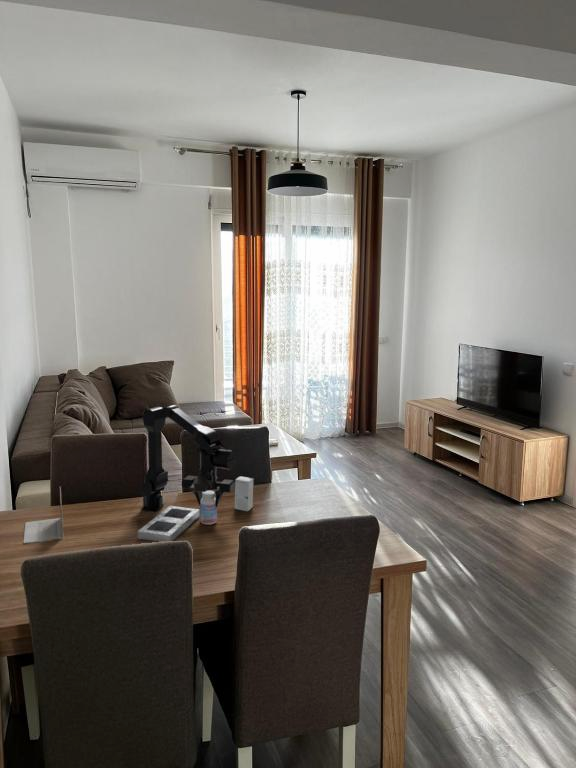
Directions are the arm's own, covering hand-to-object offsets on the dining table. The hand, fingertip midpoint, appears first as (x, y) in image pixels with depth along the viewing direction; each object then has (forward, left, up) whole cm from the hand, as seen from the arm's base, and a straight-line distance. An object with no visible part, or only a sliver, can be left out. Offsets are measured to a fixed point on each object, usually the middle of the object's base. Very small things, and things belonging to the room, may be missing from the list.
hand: (208, 506), depth 212 cm
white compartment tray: (-11, -9, -6) cm, 15 cm away
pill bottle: (0, 0, -6) cm, 6 cm away
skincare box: (+8, +16, -6) cm, 19 cm away
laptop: (-52, -24, -7) cm, 58 cm away
